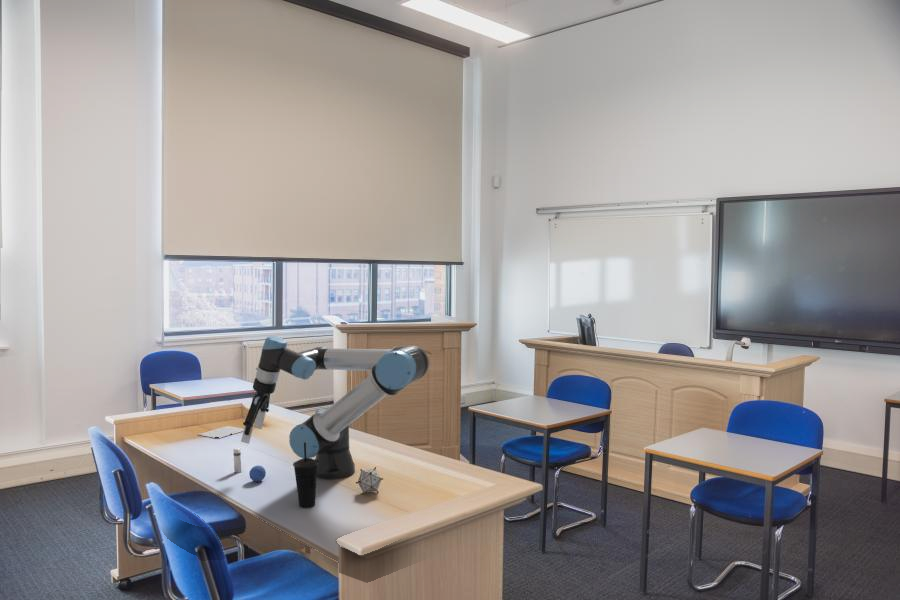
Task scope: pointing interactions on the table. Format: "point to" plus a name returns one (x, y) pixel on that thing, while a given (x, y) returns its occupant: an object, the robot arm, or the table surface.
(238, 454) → the pin
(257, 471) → the ball
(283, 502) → the table surface
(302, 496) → the drinking cup
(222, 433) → the paper stack
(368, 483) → the game die
